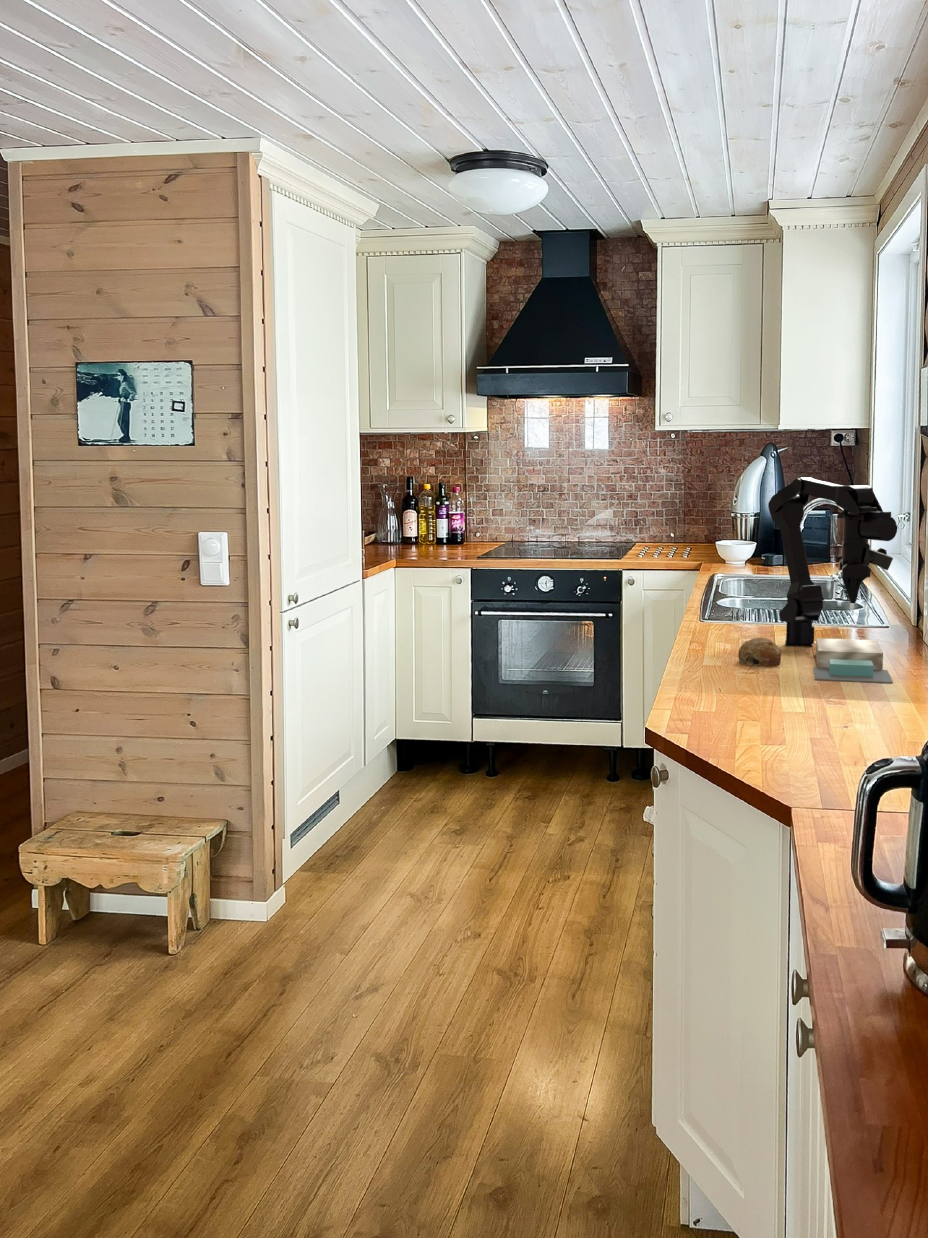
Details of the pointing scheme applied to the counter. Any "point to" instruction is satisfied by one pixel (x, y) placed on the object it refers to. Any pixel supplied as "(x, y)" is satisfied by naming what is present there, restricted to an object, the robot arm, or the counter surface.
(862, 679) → the mat
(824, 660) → the board
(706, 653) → the counter surface
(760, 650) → the brown rounded dome
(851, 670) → the teal rectangular block
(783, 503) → the robot arm
